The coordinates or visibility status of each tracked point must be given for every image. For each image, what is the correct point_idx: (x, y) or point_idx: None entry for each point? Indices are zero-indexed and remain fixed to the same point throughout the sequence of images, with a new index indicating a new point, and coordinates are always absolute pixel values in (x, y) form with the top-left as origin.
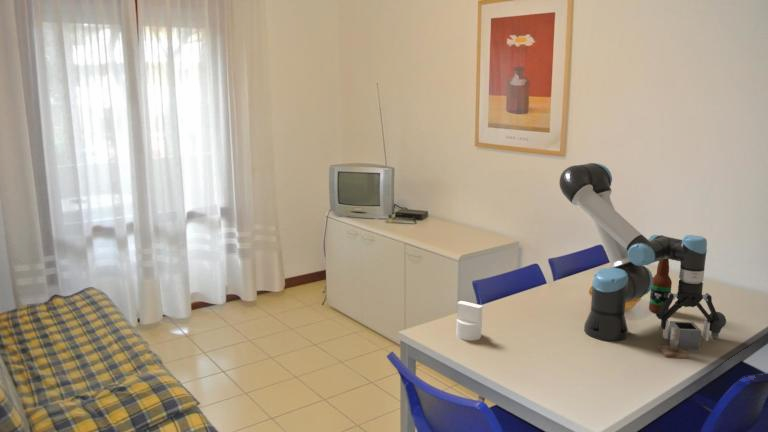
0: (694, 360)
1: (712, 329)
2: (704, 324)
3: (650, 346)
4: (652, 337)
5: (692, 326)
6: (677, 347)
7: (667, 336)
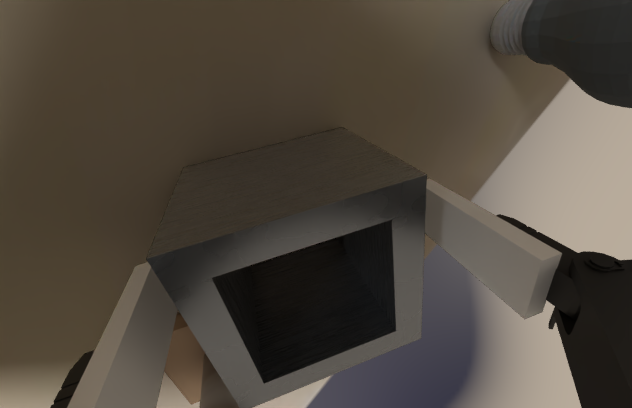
0: None
1: (542, 51)
2: (498, 236)
3: (88, 324)
4: (53, 177)
5: (385, 249)
6: None
7: (175, 318)
